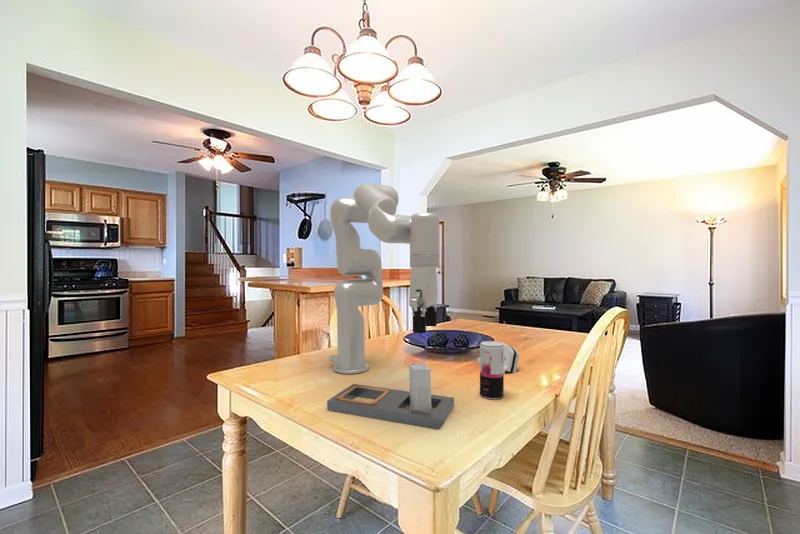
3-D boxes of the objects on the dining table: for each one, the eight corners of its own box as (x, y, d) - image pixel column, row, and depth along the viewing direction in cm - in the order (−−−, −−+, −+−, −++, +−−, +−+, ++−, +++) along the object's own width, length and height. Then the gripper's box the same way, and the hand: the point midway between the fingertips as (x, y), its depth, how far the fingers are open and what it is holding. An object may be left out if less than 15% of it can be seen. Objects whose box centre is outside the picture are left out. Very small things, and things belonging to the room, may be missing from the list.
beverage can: (487, 401, 104) (487, 346, 104) (475, 392, 110) (475, 341, 110) (508, 398, 106) (508, 345, 106) (495, 390, 112) (496, 340, 112)
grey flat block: (327, 410, 98) (327, 399, 98) (353, 392, 111) (353, 383, 111) (439, 429, 87) (439, 417, 87) (453, 407, 100) (453, 396, 100)
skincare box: (432, 417, 94) (432, 368, 93) (414, 419, 93) (414, 370, 92) (425, 407, 100) (425, 362, 99) (408, 409, 99) (408, 363, 98)
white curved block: (476, 361, 143) (484, 336, 144) (486, 364, 145) (494, 339, 146) (503, 374, 127) (512, 345, 128) (514, 377, 129) (523, 349, 130)
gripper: (421, 262, 106) (421, 323, 106) (398, 262, 90) (399, 334, 90) (447, 261, 103) (447, 324, 104) (429, 262, 87) (429, 336, 87)
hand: (425, 329), depth 97 cm, fingers open, 9 cm apart
